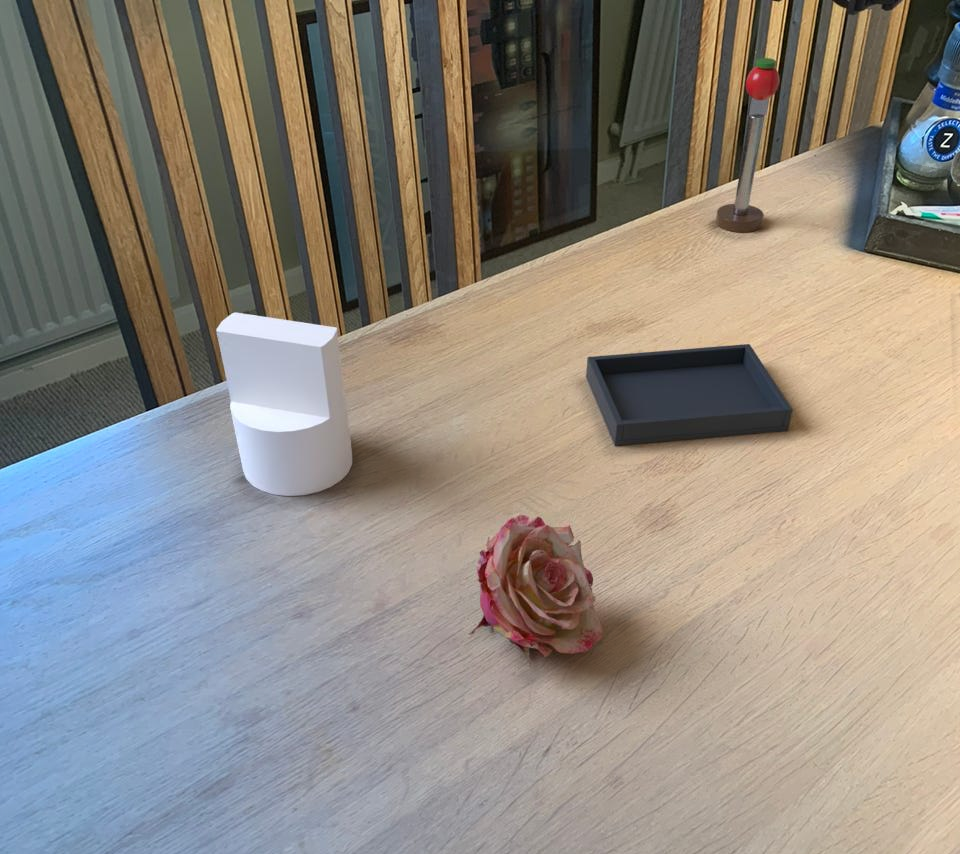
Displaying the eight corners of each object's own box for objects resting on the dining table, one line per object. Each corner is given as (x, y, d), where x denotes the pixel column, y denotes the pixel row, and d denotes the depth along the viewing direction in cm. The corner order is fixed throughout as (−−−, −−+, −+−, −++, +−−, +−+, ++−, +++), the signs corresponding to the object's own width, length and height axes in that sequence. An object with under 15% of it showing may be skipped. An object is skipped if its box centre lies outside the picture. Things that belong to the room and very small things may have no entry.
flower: (422, 635, 68) (480, 591, 61) (467, 532, 72) (525, 480, 66) (540, 706, 70) (607, 671, 64) (575, 602, 75) (641, 559, 69)
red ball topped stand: (752, 212, 120) (781, 52, 108) (767, 231, 116) (799, 67, 104) (709, 215, 119) (734, 54, 108) (723, 234, 116) (750, 69, 104)
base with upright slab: (223, 485, 83) (193, 349, 74) (272, 425, 89) (248, 294, 80) (326, 504, 81) (307, 368, 72) (368, 442, 87) (355, 309, 78)
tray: (745, 364, 96) (749, 343, 94) (788, 430, 88) (793, 409, 86) (585, 377, 94) (587, 356, 93) (614, 446, 86) (616, 424, 85)
